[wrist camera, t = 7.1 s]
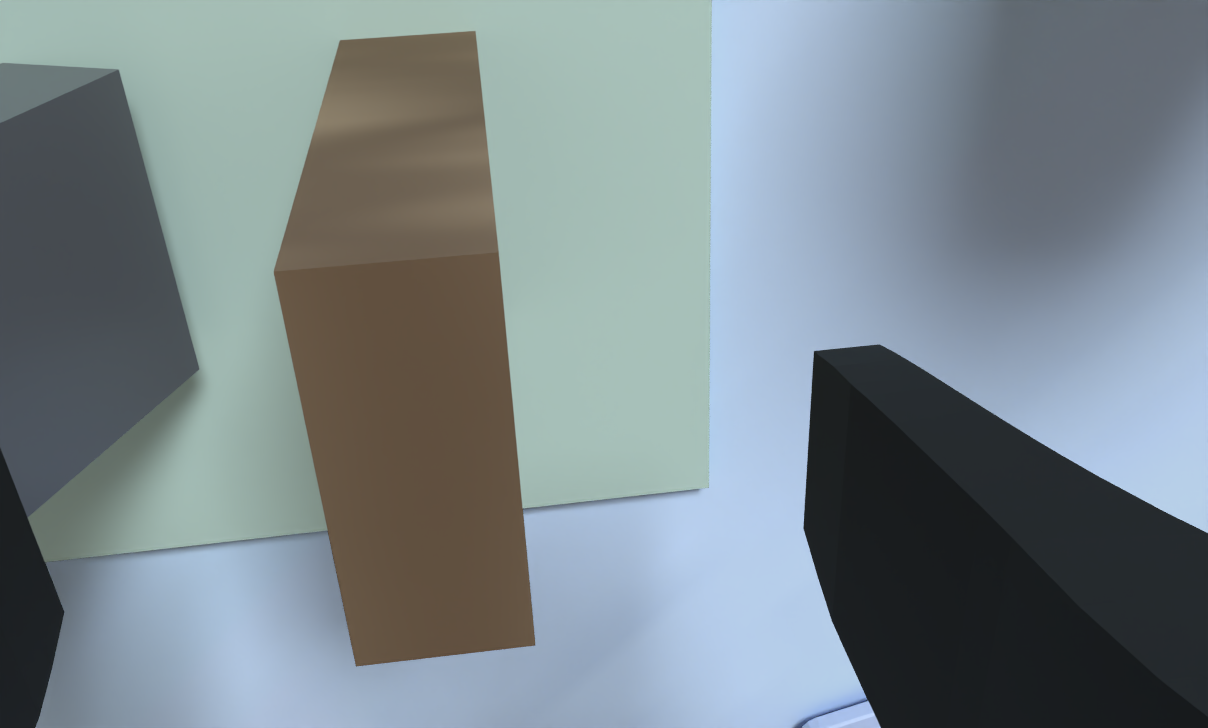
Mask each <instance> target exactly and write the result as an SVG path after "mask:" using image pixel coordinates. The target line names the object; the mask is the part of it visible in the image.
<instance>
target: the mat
mask: <svg viewBox="0 0 1208 728" xmlns="http://www.w3.org/2000/svg"><path fill="white" fill-rule="evenodd" d="M711 19H712V0H0V64H1V63H14V64H32V65H50V66H67V67H85V68H103V69H119V72H120V76H121V79H122V83H123V87H124V91H125V94H126V98H127V102H128V105H129V109H130V113H131V117H132V120H133V124H134V128H135V131H136V135H137V139H138V143H139V146H140V150H141V154H142V157H143V161H144V165H145V169H146V172H147V176H148V180H149V183H150V187H151V191H152V195H153V198H154V202H155V206H156V209H157V213H158V217H159V221H160V224H161V228H162V232H163V235H164V239H165V243H166V247H167V250H168V254H169V258H170V261H171V265H172V269H173V273H174V276H175V280H176V284H177V287H178V291H179V295H180V299H181V302H182V306H183V310H184V313H185V317H186V321H187V325H188V328H189V332H190V336H191V339H192V343H193V347H194V351H195V354H196V358H197V362H198V365H199V370H198V371H197V372H196V373H195V374H193V375H192V376H191V377H190V378H189V379H188V380H187V381H185V382H184V383H183V384H182V385H181V386H180V387H178V388H177V389H176V390H175V391H174V392H173V393H171V394H170V395H169V396H168V397H167V398H166V399H165V400H163V401H162V402H161V403H160V404H159V405H158V406H156V407H155V408H154V409H153V410H152V411H151V412H149V413H148V414H147V415H146V416H145V417H144V418H142V419H141V420H140V421H139V422H138V423H137V424H136V425H134V426H133V427H132V428H131V429H130V430H129V431H127V432H126V433H125V434H124V435H123V436H122V437H120V438H119V439H118V440H117V441H116V442H115V443H114V444H112V445H111V446H110V447H109V448H108V449H107V450H105V451H104V452H103V453H102V454H101V455H100V456H98V457H97V458H96V459H95V460H94V461H93V462H91V463H90V464H89V465H88V466H87V467H86V468H85V469H83V470H82V471H81V472H80V473H79V474H78V475H76V476H75V477H74V478H73V479H72V480H71V481H69V482H68V483H67V484H66V485H65V486H64V487H63V488H61V489H60V490H59V491H58V492H57V493H56V494H54V495H53V496H52V497H51V498H50V499H49V500H47V501H46V502H45V503H44V504H43V505H42V506H40V507H39V508H38V509H37V510H36V511H35V512H34V513H32V514H31V515H30V516H29V517H28V520H29V523H30V525H31V528H32V530H33V533H34V536H35V538H36V541H37V543H38V546H39V548H40V551H41V554H42V556H43V559H44V561H45V562H51V561H60V560H69V559H78V558H87V557H96V556H105V555H114V554H123V553H132V552H140V551H149V550H158V549H167V548H176V547H185V546H194V545H203V544H212V543H221V542H229V541H238V540H247V539H256V538H265V537H274V536H283V535H292V534H301V533H310V532H318V531H327V525H326V520H325V516H324V511H323V506H322V501H321V496H320V492H319V487H318V482H317V477H316V473H315V468H314V463H313V458H312V453H311V449H310V444H309V439H308V434H307V430H306V425H305V420H304V415H303V410H302V406H301V401H300V396H299V391H298V387H297V382H296V377H295V372H294V367H293V363H292V358H291V353H290V348H289V344H288V339H287V334H286V329H285V324H284V320H283V315H282V310H281V305H280V301H279V296H278V291H277V286H276V281H275V277H274V268H275V265H276V261H277V258H278V254H279V251H280V247H281V244H282V240H283V237H284V233H285V230H286V226H287V223H288V219H289V216H290V212H291V209H292V205H293V202H294V198H295V195H296V191H297V188H298V184H299V181H300V177H301V174H302V170H303V167H304V164H305V160H306V157H307V153H308V150H309V146H310V143H311V139H312V136H313V132H314V129H315V125H316V122H317V118H318V115H319V111H320V108H321V104H322V101H323V97H324V94H325V90H326V87H327V83H328V80H329V76H330V73H331V69H332V66H333V62H334V59H335V55H336V52H337V48H338V45H339V41H340V40H350V39H365V38H380V37H394V36H409V35H423V34H438V33H452V32H467V31H476V40H477V49H478V59H479V68H480V78H481V88H482V97H483V107H484V116H485V126H486V135H487V145H488V155H489V164H490V174H491V183H492V193H493V202H494V212H495V221H496V231H497V241H498V250H499V261H500V271H501V282H502V293H503V304H504V314H505V325H506V336H507V346H508V357H509V368H510V379H511V389H512V400H513V411H514V422H515V432H516V443H517V454H518V465H519V475H520V486H521V497H522V507H523V508H532V507H541V506H550V505H559V504H568V503H577V502H585V501H594V500H603V499H612V498H621V497H630V496H639V495H648V494H657V493H666V492H674V491H683V490H692V489H701V488H709V366H710V193H711Z"/></svg>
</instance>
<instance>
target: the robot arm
mask: <svg viewBox="0 0 1208 728" xmlns="http://www.w3.org/2000/svg"><path fill="white" fill-rule="evenodd" d="M804 531H805V535H806V538H807V542H808V545H809V548H810V552H811V555H812V559H813V562H814V565H815V569H816V572H817V575H818V579H819V582H820V585H821V588H822V591H823V594H824V598H825V601H826V604H827V607H828V610H829V613H830V616H831V619H832V622H833V624H834V626H835V629H836V631H837V633H838V635H839V638H840V640H841V642H842V644H843V647H844V649H845V651H846V653H847V655H848V658H849V660H850V662H851V664H852V666H853V669H854V671H855V673H856V675H857V677H858V679H859V682H860V684H861V686H862V688H863V690H864V693H865V695H866V697H867V699H868V701H866V702H863V703H860V704H857V705H854V706H850V707H847V708H844V709H841V710H838V711H835V712H832V713H828V714H825V715H822V716H819V717H816V718H814V719H812V720H810V721H808V722H807V723H806V724H805V725H804V726H802V728H1208V533H1206V532H1204V531H1202V530H1200V529H1198V528H1196V527H1194V526H1192V525H1190V524H1188V523H1186V522H1184V521H1182V520H1180V519H1178V518H1176V517H1174V516H1172V515H1170V514H1168V513H1166V512H1164V511H1162V510H1160V509H1158V508H1156V507H1154V506H1153V505H1151V504H1149V503H1147V502H1145V501H1143V500H1141V499H1139V498H1138V497H1136V496H1134V495H1132V494H1130V493H1128V492H1126V491H1125V490H1123V489H1121V488H1119V487H1117V486H1115V485H1113V484H1111V483H1110V482H1108V481H1106V480H1104V479H1102V478H1100V477H1098V476H1097V475H1095V474H1093V473H1091V472H1090V471H1088V470H1086V469H1084V468H1083V467H1081V466H1079V465H1077V464H1076V463H1074V462H1072V461H1070V460H1069V459H1067V458H1065V457H1063V456H1062V455H1060V454H1058V453H1057V452H1055V451H1053V450H1052V449H1050V448H1048V447H1046V446H1045V445H1043V444H1041V443H1040V442H1038V441H1036V440H1035V439H1033V438H1031V437H1030V436H1028V435H1027V434H1025V433H1023V432H1022V431H1020V430H1018V429H1017V428H1015V427H1013V426H1012V425H1010V424H1009V423H1007V422H1005V421H1004V420H1002V419H1001V418H999V417H997V416H996V415H994V414H993V413H991V412H989V411H988V410H986V409H984V408H983V407H981V406H980V405H978V404H977V403H975V402H973V401H972V400H970V399H969V398H967V397H966V396H964V395H962V394H961V393H959V392H958V391H956V390H954V389H953V388H951V387H950V386H948V385H947V384H945V383H943V382H942V381H940V380H939V379H937V378H936V377H934V376H932V375H931V374H929V373H928V372H926V371H924V370H923V369H921V368H920V367H918V366H916V365H915V364H913V363H911V362H910V361H908V360H906V359H905V358H903V357H901V356H900V355H898V354H896V353H894V352H893V351H891V350H889V349H887V348H885V347H883V346H881V345H870V346H860V347H850V348H840V349H830V350H820V351H814V360H813V377H812V394H811V411H810V428H809V445H808V462H807V479H806V495H805V512H804ZM63 615H64V610H63V608H62V605H61V602H60V600H59V597H58V595H57V592H56V590H55V587H54V584H53V582H52V579H51V577H50V574H49V572H48V569H47V566H46V564H45V561H44V559H43V556H42V554H41V551H40V548H39V546H38V543H37V541H36V538H35V536H34V533H33V530H32V528H31V525H30V523H29V520H28V518H27V515H26V512H25V510H24V507H23V505H22V502H21V500H20V497H19V494H18V492H17V489H16V487H15V484H14V482H13V479H12V476H11V474H10V471H9V469H8V466H7V464H6V461H5V458H4V456H3V453H2V451H1V448H0V728H35V727H36V724H37V721H38V719H39V716H40V712H41V708H42V704H43V701H44V697H45V693H46V689H47V685H48V681H49V677H50V674H51V670H52V665H53V661H54V656H55V652H56V647H57V643H58V638H59V633H60V629H61V624H62V620H63Z"/></svg>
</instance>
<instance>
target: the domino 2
mask: <svg viewBox="0 0 1208 728" xmlns="http://www.w3.org/2000/svg"><path fill="white" fill-rule="evenodd" d="M274 277H275V281H276V286H277V291H278V296H279V301H280V305H281V310H282V315H283V320H284V324H285V329H286V334H287V339H288V344H289V348H290V353H291V358H292V363H293V367H294V372H295V377H296V382H297V387H298V391H299V396H300V401H301V406H302V410H303V415H304V420H305V425H306V430H307V434H308V439H309V444H310V449H311V453H312V458H313V463H314V468H315V473H316V477H317V482H318V487H319V492H320V496H321V501H322V506H323V511H324V516H325V520H326V525H327V530H328V535H329V539H330V544H331V549H332V554H333V559H334V563H335V568H336V573H337V578H338V582H339V587H340V592H341V597H342V602H343V606H344V611H345V616H346V621H347V625H348V630H349V635H350V640H351V645H352V649H353V654H354V659H355V664H356V666H363V665H372V664H380V663H389V662H398V661H406V660H415V659H423V658H432V657H440V656H449V655H457V654H466V653H474V652H483V651H491V650H500V649H508V648H517V647H526V646H534V645H535V636H534V626H533V615H532V604H531V593H530V583H529V572H528V561H527V550H526V540H525V529H524V518H523V507H522V497H521V486H520V475H519V465H518V454H517V443H516V432H515V422H514V411H513V400H512V389H511V379H510V368H509V357H508V346H507V336H506V325H505V314H504V304H503V293H502V282H501V271H500V261H499V250H498V241H497V231H496V221H495V212H494V202H493V193H492V183H491V174H490V164H489V155H488V145H487V135H486V126H485V116H484V107H483V97H482V88H481V78H480V68H479V59H478V49H477V40H476V31H467V32H452V33H438V34H423V35H409V36H394V37H380V38H365V39H350V40H340V41H339V45H338V48H337V52H336V55H335V59H334V62H333V66H332V69H331V73H330V76H329V80H328V83H327V87H326V90H325V94H324V97H323V101H322V104H321V108H320V111H319V115H318V118H317V122H316V125H315V129H314V132H313V136H312V139H311V143H310V146H309V150H308V153H307V157H306V160H305V164H304V167H303V170H302V174H301V177H300V181H299V184H298V188H297V191H296V195H295V198H294V202H293V205H292V209H291V212H290V216H289V219H288V223H287V226H286V230H285V233H284V237H283V240H282V244H281V247H280V251H279V254H278V258H277V261H276V265H275V268H274Z"/></svg>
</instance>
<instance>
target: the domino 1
mask: <svg viewBox="0 0 1208 728" xmlns="http://www.w3.org/2000/svg"><path fill="white" fill-rule="evenodd" d="M198 370H199V365H198V362H197V358H196V354H195V351H194V347H193V343H192V339H191V336H190V332H189V328H188V325H187V321H186V317H185V313H184V310H183V306H182V302H181V299H180V295H179V291H178V287H177V284H176V280H175V276H174V273H173V269H172V265H171V261H170V258H169V254H168V250H167V247H166V243H165V239H164V235H163V232H162V228H161V224H160V221H159V217H158V213H157V209H156V206H155V202H154V198H153V195H152V191H151V187H150V183H149V180H148V176H147V172H146V169H145V165H144V161H143V157H142V154H141V150H140V146H139V143H138V139H137V135H136V131H135V128H134V124H133V120H132V117H131V113H130V109H129V105H128V102H127V98H126V94H125V91H124V87H123V83H122V79H121V76H120V72H119V69H103V68H85V67H67V66H50V65H32V64H14V63H1V64H0V448H1V451H2V453H3V456H4V458H5V461H6V464H7V466H8V469H9V471H10V474H11V476H12V479H13V482H14V484H15V487H16V489H17V492H18V494H19V497H20V500H21V502H22V505H23V507H24V510H25V512H26V515H27V518H28V517H29V516H30V515H31V514H32V513H34V512H35V511H36V510H37V509H38V508H39V507H40V506H42V505H43V504H44V503H45V502H46V501H47V500H49V499H50V498H51V497H52V496H53V495H54V494H56V493H57V492H58V491H59V490H60V489H61V488H63V487H64V486H65V485H66V484H67V483H68V482H69V481H71V480H72V479H73V478H74V477H75V476H76V475H78V474H79V473H80V472H81V471H82V470H83V469H85V468H86V467H87V466H88V465H89V464H90V463H91V462H93V461H94V460H95V459H96V458H97V457H98V456H100V455H101V454H102V453H103V452H104V451H105V450H107V449H108V448H109V447H110V446H111V445H112V444H114V443H115V442H116V441H117V440H118V439H119V438H120V437H122V436H123V435H124V434H125V433H126V432H127V431H129V430H130V429H131V428H132V427H133V426H134V425H136V424H137V423H138V422H139V421H140V420H141V419H142V418H144V417H145V416H146V415H147V414H148V413H149V412H151V411H152V410H153V409H154V408H155V407H156V406H158V405H159V404H160V403H161V402H162V401H163V400H165V399H166V398H167V397H168V396H169V395H170V394H171V393H173V392H174V391H175V390H176V389H177V388H178V387H180V386H181V385H182V384H183V383H184V382H185V381H187V380H188V379H189V378H190V377H191V376H192V375H193V374H195V373H196V372H197V371H198Z"/></svg>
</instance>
